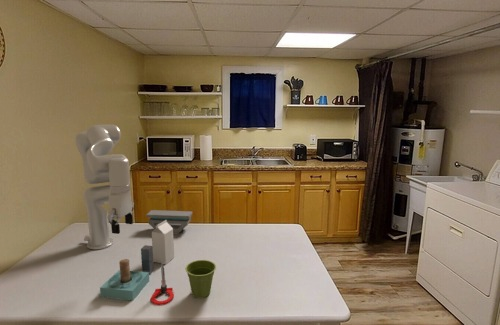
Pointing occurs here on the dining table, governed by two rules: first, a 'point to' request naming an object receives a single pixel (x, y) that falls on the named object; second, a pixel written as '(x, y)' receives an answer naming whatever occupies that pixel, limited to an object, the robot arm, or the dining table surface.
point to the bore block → (124, 286)
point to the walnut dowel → (124, 271)
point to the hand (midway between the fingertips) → (122, 228)
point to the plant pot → (200, 277)
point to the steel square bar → (147, 259)
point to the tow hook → (162, 290)
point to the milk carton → (163, 243)
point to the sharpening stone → (170, 219)
